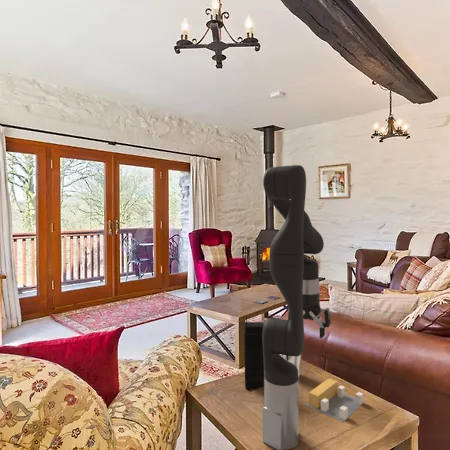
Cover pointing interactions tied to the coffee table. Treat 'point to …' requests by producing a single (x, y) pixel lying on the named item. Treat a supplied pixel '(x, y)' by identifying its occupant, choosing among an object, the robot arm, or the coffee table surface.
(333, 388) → the bar
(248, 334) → the portable radio
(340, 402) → the board
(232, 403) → the coffee table surface
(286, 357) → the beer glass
